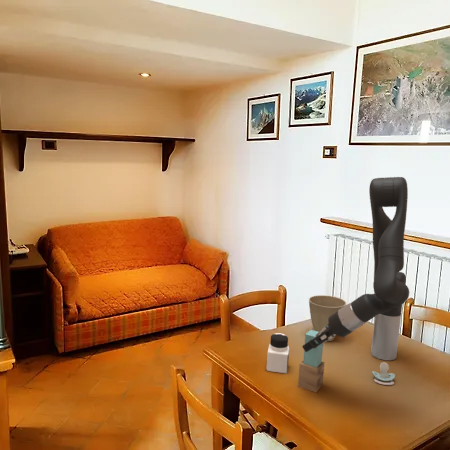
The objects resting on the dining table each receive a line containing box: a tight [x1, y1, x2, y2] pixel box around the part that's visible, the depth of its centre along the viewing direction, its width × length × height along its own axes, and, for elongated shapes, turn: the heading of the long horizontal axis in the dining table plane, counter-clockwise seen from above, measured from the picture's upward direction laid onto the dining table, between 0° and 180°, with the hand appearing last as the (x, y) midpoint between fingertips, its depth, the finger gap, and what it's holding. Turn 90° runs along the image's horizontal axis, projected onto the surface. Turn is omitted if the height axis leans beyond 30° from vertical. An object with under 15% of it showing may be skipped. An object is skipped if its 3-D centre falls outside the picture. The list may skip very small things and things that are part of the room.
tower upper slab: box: [298, 360, 326, 381], centre depth 139 cm, size 6×6×4 cm
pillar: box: [302, 329, 324, 368], centre depth 138 cm, size 4×4×10 cm
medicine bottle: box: [266, 332, 290, 374], centre depth 150 cm, size 7×7×12 cm
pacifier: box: [371, 361, 396, 386], centre depth 144 cm, size 7×6×6 cm
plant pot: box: [308, 294, 347, 342], centre depth 176 cm, size 15×15×16 cm
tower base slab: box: [297, 374, 324, 393], centre depth 139 cm, size 6×6×4 cm
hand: (309, 344), depth 138 cm, fingers open, 8 cm apart
